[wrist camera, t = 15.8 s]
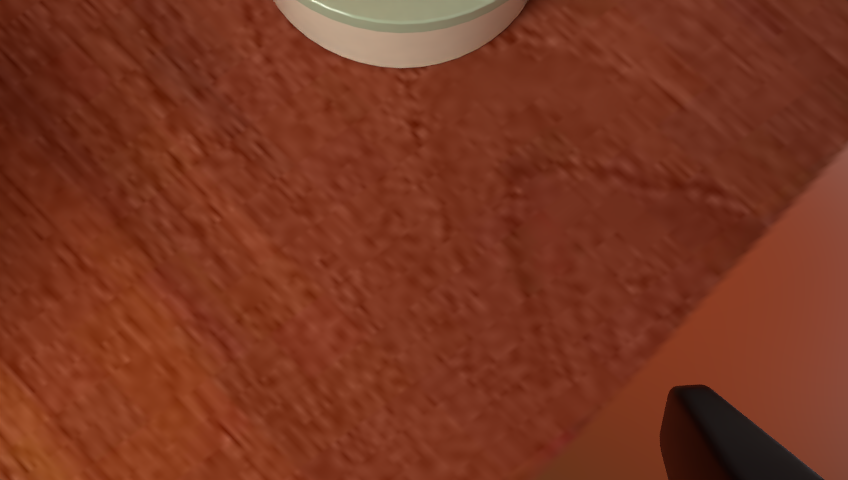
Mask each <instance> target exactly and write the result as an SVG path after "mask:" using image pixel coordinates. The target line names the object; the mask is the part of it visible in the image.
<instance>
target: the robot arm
mask: <svg viewBox="0 0 848 480" xmlns="http://www.w3.org/2000/svg"><path fill="white" fill-rule="evenodd" d="M660 447H661V452H662V456H663V460H664V464H665V468H666V471H667V475H668V479H669V480H824V479H823V478H822V477H820V476H819V475H818V474H817V473H816V472H814V471H813V470H812V469H810V468H809V467H808V466H807V465H805V464H804V463H803V462H802V461H800V460H799V459H798V458H797V457H796V456H794V455H793V454H792V453H791V452H789V451H788V450H787V449H786V448H784V447H783V446H782V445H781V444H779V443H778V442H777V441H775V440H774V439H773V438H772V437H771V436H769V435H768V434H767V433H765V432H764V431H763V430H762V429H761V428H759V427H758V426H757V425H755V424H754V423H753V422H752V421H751V420H749V419H748V418H747V417H746V416H744V415H743V414H742V413H741V412H739V411H738V410H737V409H736V408H734V407H733V406H732V405H731V404H729V403H728V402H727V401H726V400H724V399H723V398H722V397H721V396H719V395H718V394H717V393H716V392H714V391H713V390H712V389H711V388H709V387H707V386H705V385H685V386H675V387H673V388H672V389H671V390H670V392H669V394H668V398H667V402H666V407H665V412H664V417H663V421H662V426H661V431H660Z"/></svg>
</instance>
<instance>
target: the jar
mask: <svg viewBox="0 0 848 480" xmlns="http://www.w3.org/2000/svg"><path fill="white" fill-rule="evenodd" d="M273 1H274V2H275V4H276V5H277V7H278V8H279V9H280V11H281V12H282V13H283V14H284V15H285V17H286V18H287V19H288V20H289V21H290V22H291V23H292V24H293V25H294V26H295V27H296V28H297V29H298V30H300V31H301V32H302V33H303V34H304V35H306V36H307V37H308V38H309V39H311V40H313V41H314V42H316V43H317V44H319V45H320V46H322V47H323V48H325V49H327V50H329V51H332V52H334V53H336V54H338V55H340V56H342V57H345V58H348V59H351V60H354V61H357V62H360V63H365V64H370V65H375V66H380V67H393V68H411V67H423V66H429V65H434V64H440V63H443V62H446V61H450V60H453V59H456V58H459V57H461V56H463V55H465V54H468V53H470V52H472V51H474V50H476V49H478V48H480V47H481V46H483V45H484V44H486V43H488V42H489V41H491V40H492V39H493V38H495V37H496V36H497V35H498V34H500V33H501V32H502V31H503V30H504V29H506V28H507V27H508V26H509V24H510V23H511V22H512V21H513V20H514V19H515V18H516V17H517V16H518V15H519V13H520V12H521V11H522V9H523V8H524V6H525V5H526V3H527V2H528V1H529V0H273Z"/></svg>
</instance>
